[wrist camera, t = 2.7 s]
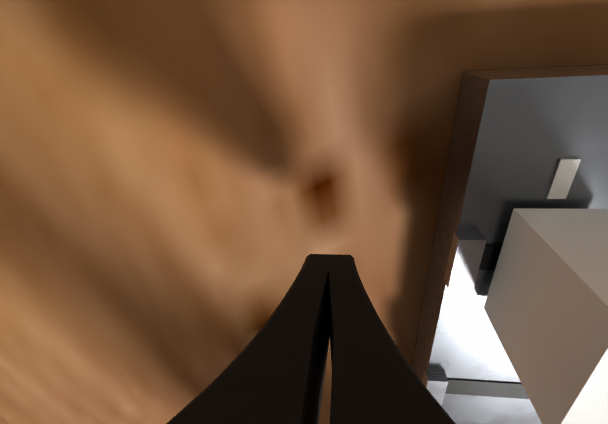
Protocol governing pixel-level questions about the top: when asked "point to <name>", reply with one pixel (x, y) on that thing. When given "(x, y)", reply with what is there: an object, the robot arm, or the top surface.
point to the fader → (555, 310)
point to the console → (503, 220)
